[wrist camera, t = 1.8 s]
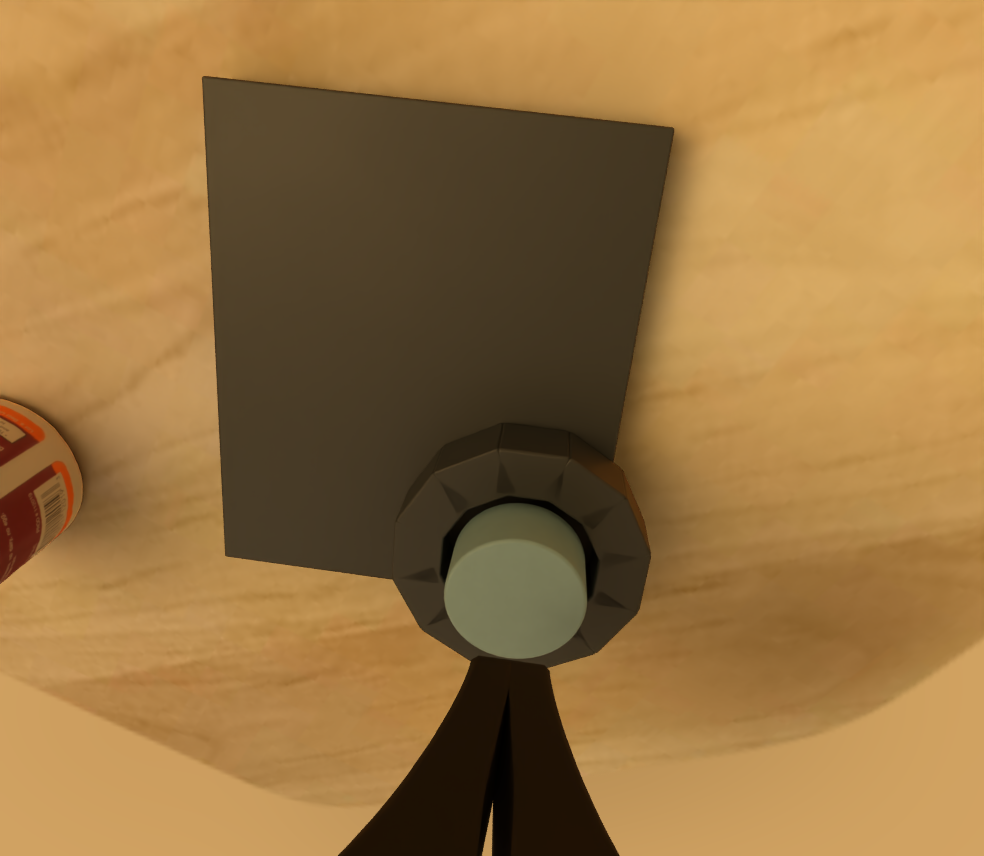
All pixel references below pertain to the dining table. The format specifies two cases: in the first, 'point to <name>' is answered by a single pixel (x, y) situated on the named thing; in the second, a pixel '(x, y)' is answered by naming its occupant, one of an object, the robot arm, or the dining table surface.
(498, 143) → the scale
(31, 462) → the pill bottle
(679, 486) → the dining table surface
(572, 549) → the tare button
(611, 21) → the dining table surface
